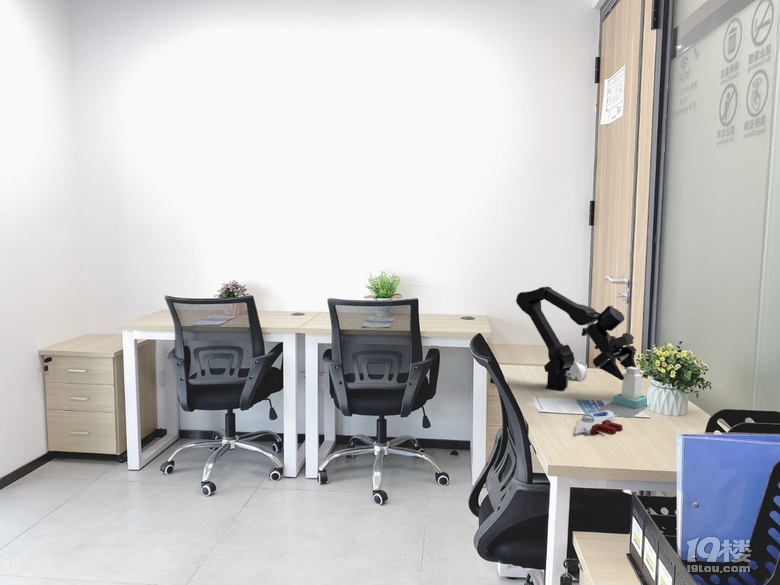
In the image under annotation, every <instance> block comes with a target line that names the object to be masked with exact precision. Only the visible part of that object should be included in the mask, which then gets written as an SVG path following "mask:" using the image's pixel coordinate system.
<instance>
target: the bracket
mask: <svg viewBox="0 0 780 585" xmlns="http://www.w3.org/2000/svg"><path fill="white" fill-rule="evenodd" d="M621 431H623V425H622V424H620V423H616V422H614V421H612V422H611V421H610V420H604V421H602V425H601V424H595V425H593V426H592V428H591V434H590V435H591V436H598V435H601V436H604V434H603V433H609V434H611V435H615V434H617V432H621ZM601 432H603V433H601Z"/></svg>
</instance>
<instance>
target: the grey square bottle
mask: <svg viewBox="0 0 780 585" xmlns="http://www.w3.org/2000/svg"><path fill="white" fill-rule="evenodd" d="M625 369H626V371H625V372H624V373H622V375H623V377H624V379H623V380H622V382H621V383H622V386H621V387H622V388H621V393H622V397H624V398H628V399H632V400H638V399H641V395H642V387H643V373H641V372H640V370H641V369H640V367H637V366H636V367H628V368H625Z"/></svg>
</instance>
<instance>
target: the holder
mask: <svg viewBox="0 0 780 585" xmlns="http://www.w3.org/2000/svg"><path fill="white" fill-rule="evenodd" d="M612 397H613V398H612V401H613V403H615V404H619V405H623V406H627V407H631V408H635V409H637V408H640V407H643V406H645V405H647V395H643V394H641V399H638V400H632V399H628V398H624V397H622V392H620V393H617V394H614V395H613V396H612Z"/></svg>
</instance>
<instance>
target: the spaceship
mask: <svg viewBox="0 0 780 585" xmlns="http://www.w3.org/2000/svg"><path fill="white" fill-rule="evenodd" d="M615 419H616V415H614V413H613V412H612V411H608V410H607V411H601V412H598V411H595V412H592V413H585V414H584V415H583V416H581V418H580V419H579V420H578V422H576V426H575V430H574V432H573V436H578V435H580V434H585V436H589V435H591V428H592V426H593V425H595V424H601V425H602V421H604V420H610V421H611V422H614V421H615Z"/></svg>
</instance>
